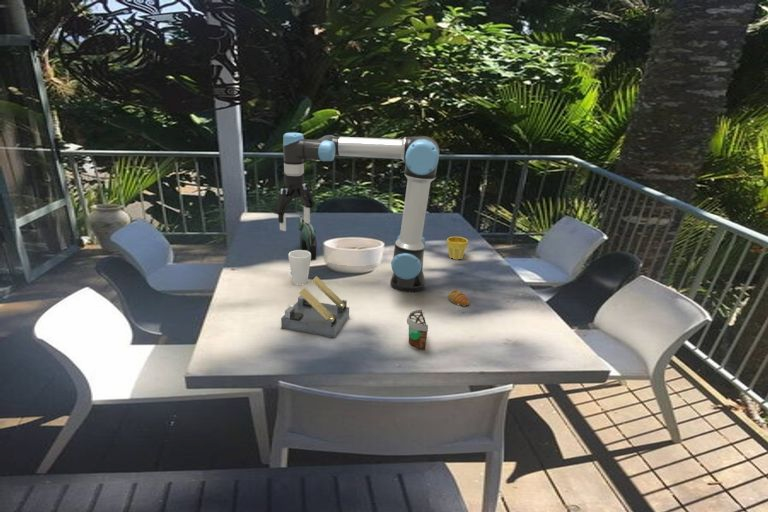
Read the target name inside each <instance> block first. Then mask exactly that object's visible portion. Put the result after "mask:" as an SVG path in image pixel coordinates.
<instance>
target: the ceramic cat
mask: <svg viewBox="0 0 768 512" xmlns="http://www.w3.org/2000/svg"><path fill="white" fill-rule="evenodd" d="M297 224H298V225H297V227H298V228H297V229H298V230H299V231H300V233H299V234H300V236H299V248H300V249H299V250H305V251H308V252H310V253H311V260H310V261H316V259H317V248H318V247H317V246H318V245H317V243H318V242H317V232H316V229H315V228H314V226H313V225H312V224H311V222H310V223H305V222H304V216H303V215H302V214H300V217H298V220H297Z"/></svg>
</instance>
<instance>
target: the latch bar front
mask: <svg viewBox="0 0 768 512" xmlns="http://www.w3.org/2000/svg"><path fill="white" fill-rule="evenodd" d="M298 294H299V296H300V295H301V296H302V297H303V298H304V299H305V300H307V301H308V302H309V303H310V304H311V305H312V306H313V307H314V308H315V309H316V310H317V311H318V312H319V313H320V314H321V315H322V316H323V317H324V318H325V319H326V320H327V319H331V320H332V322H333V321H334V320H335V316H333V315H332V314H331V313H330V312H329V311H328V310H327V309H326V308H325V307H324V306H323V305H322V304H321V303H322V302H320V301H319V300H318V299H317V298H316V297H315V296H314V295H313V294H312V293H310V291H309V290H308V289H307V288H306V287H304V288H302V290H301V291H300V292H299V293H298Z"/></svg>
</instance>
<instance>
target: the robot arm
mask: <svg viewBox="0 0 768 512" xmlns="http://www.w3.org/2000/svg"><path fill="white" fill-rule="evenodd" d="M282 137H283V139H282V143H283V144H282V150H283V151H282V152H283V172H284V175H283V177H284V178H283V179H284V184H285V188H282V187H281V188H279V191H278V192H279V194H278V197H277V200H276V203H275V207H274V210H273V213H274V214H276V215H277V217H278V220H277V221H278V224H279V231H283V232H287V216H286V211H287V209H288V207H289V205H290V203H291V202H292V201H293V199H296V198H298V199H299V200H300V201H301V202H302V203H303V205H304V206H303V217H304V222H305V223H310V224H311V214H312V212H311V211H312V210H311V209H312V208H313V207H314V206H315V201H314V198H313V196H312V193H311V191H310V185H309V184H308V183H305V176H304V174H305V163H304V161H306V160H311V161H321V162H332V161H334V159H335V157H338V156H339V157H357V158H359V157H360V158H361V157H362V158H374V159H375V158H379V159H394V160H395V159H396V160H398V159H399V160H402V161H403V162H404V163H405V168H404V177H406V179H407V181H406V182H407V183H406V189H405V197H404V203H403V212H402V219H401V227H400V234H399V235H398V236H397V239H396V240H395V242H394V248H393V256H392V257H393V258H392V260H391V261H390V262H391V263H390V266H391V271H392V272H393V274H392V275H391V278H390V287H391V288H392V289H394V290H395V291H399V292H402V293H417V292H418V291H419V292H421V291H424V290H425V288H426V278H425V274H424V271H423V267H424V266H423V265H424V255H425V254H424V253H425V245H426V241H425V240H426V239H425V237H424V236H423V234H424V226H425V220H426V215H427V214H426V212H427V208H428V207H427V206H428V202H429V201H428V200H429V194H430V189H431V188H430V187H431V183H432V182H433V181H434V180H435V179H436V176H437V169H438V165H439V160H440V152H441V151H440V146H439V145H438V143H437V141H436V140H435V139H434V138H432V137H430V136H427V135H426V136H425V135H422V136H404V137H403V138H402V139H399V138H383V137H382V138H381V137H356V136H352V137H351V136H334V135H333V134H326V135H324V136H322V137H320V138H317V139H307V138H306V139H305V138H304V135H303V133H300V132H286V133H284V134H283V136H282Z"/></svg>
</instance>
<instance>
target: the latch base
mask: <svg viewBox="0 0 768 512" xmlns="http://www.w3.org/2000/svg"><path fill="white" fill-rule="evenodd" d="M341 300H342V301H343V302H344V303H345V304H346V305H345V306H344V308H343V306H340V305H338V306H337V305H336V304H330V303H325V302H320V303H321V304H322V305H323V306H324V307H325V308H326V309H327V310H328V311H329V312H330V313H331V314H332V315H333V316H335V320H334V321H333V322H332V320H331V319H327V320H326V319H325V318H324V317H323V316H322V315H321V314H320V313H319V312H318V311H317V310H316V309H315V308H314V307H313V306H312V305H311V304H310V303H309V302H308V301H307V300H305V299H304V298H303V297H302V296H301V295H300V294H299V296H298V297H297V301H296V303H294V304H293V305H292V306H291V305H289V306H288V307H287V308H286V309H285V310H284V315H283V316H281V318H280V325H281V329H285V330H290V331H295V332H301V333H307V334H311V335H318V336H323V337H330V338H334V339H335V338H336V336H337V335H338V334H339V332H340V331H341V329H342V328H343V326H344V325H345V324H346V322H347V320H349V318H350V306H347V304H348V303H347V301H348V300H344V299H341Z"/></svg>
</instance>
